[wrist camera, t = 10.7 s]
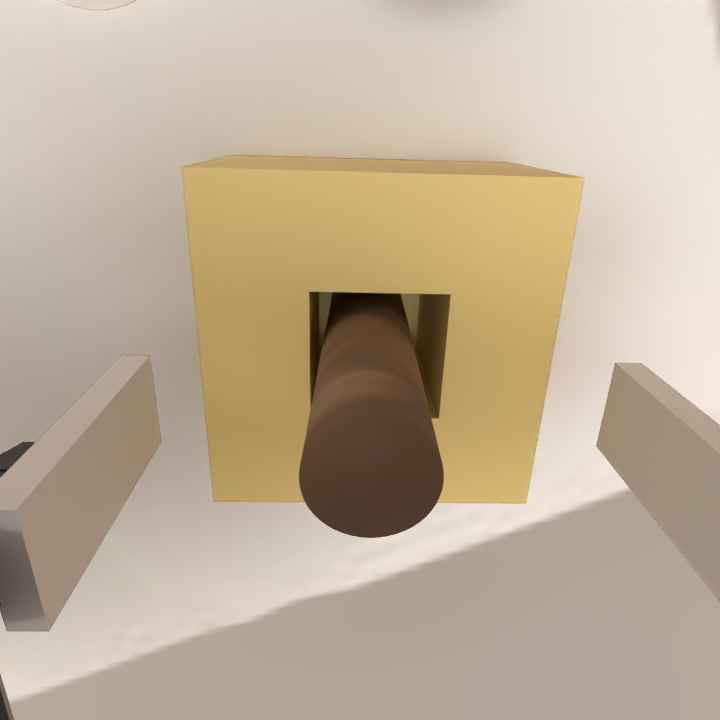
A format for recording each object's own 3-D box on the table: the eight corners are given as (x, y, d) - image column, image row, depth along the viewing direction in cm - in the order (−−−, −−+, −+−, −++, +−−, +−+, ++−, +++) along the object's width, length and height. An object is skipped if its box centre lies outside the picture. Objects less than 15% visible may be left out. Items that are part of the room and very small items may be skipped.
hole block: (248, 403, 28) (213, 501, 21) (233, 154, 23) (181, 166, 16) (479, 406, 28) (526, 503, 21) (510, 162, 24) (584, 177, 16)
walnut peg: (331, 333, 26) (300, 536, 13) (331, 265, 24) (297, 414, 11) (399, 334, 26) (438, 539, 13) (403, 267, 24) (449, 417, 11)
